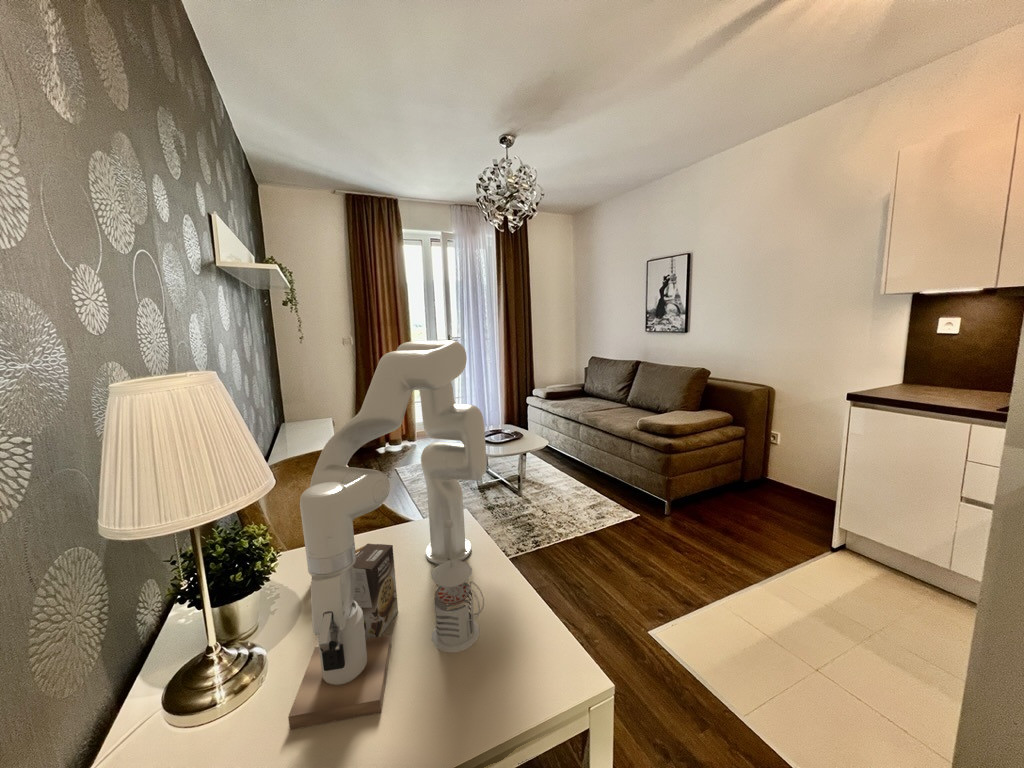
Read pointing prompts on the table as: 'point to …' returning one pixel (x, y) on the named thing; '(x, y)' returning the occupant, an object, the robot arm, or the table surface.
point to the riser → (342, 690)
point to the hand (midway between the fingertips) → (341, 645)
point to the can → (349, 649)
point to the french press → (456, 623)
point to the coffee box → (375, 587)
